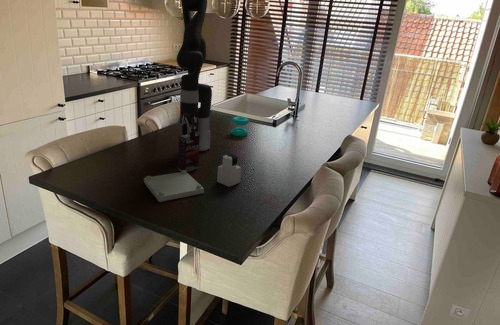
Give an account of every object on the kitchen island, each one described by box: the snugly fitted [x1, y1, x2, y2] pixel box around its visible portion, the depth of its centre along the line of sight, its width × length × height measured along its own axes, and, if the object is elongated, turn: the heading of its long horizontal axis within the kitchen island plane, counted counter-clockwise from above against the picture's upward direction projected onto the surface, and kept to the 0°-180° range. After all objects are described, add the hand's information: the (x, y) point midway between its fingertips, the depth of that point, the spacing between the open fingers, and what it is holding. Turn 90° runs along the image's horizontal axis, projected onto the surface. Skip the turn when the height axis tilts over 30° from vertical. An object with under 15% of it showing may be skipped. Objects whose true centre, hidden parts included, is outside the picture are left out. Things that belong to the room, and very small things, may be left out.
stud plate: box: [143, 170, 205, 203], centre depth 144 cm, size 18×18×3 cm
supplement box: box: [177, 133, 200, 173], centre depth 160 cm, size 9×5×16 cm, turn 143°
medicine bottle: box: [216, 153, 242, 188], centre depth 151 cm, size 7×7×12 cm
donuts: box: [230, 116, 250, 138], centre depth 214 cm, size 10×10×10 cm
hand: (188, 137), depth 157 cm, fingers open, 8 cm apart
